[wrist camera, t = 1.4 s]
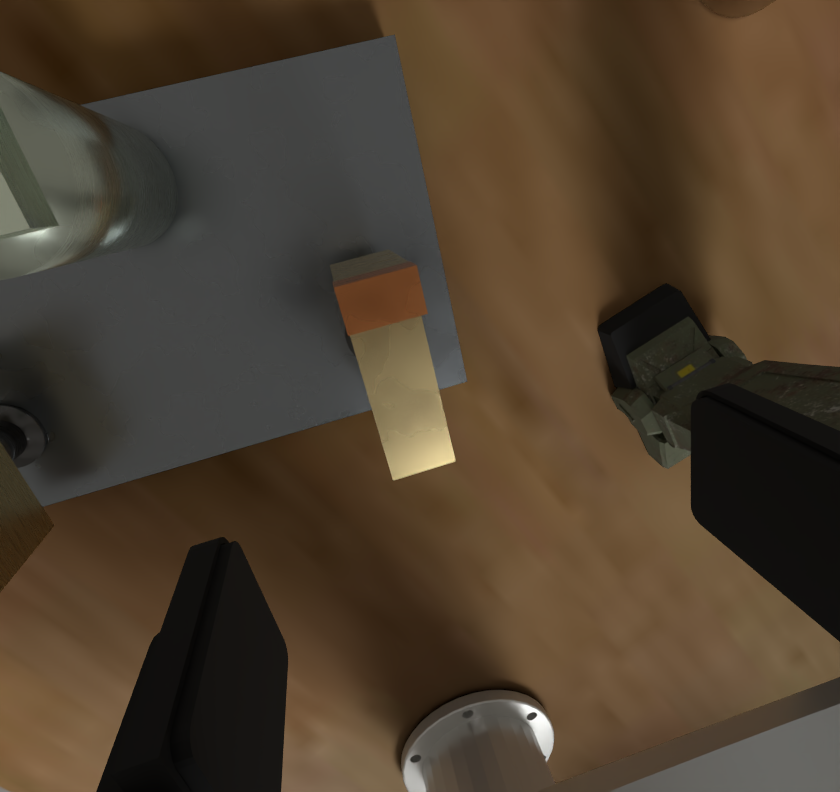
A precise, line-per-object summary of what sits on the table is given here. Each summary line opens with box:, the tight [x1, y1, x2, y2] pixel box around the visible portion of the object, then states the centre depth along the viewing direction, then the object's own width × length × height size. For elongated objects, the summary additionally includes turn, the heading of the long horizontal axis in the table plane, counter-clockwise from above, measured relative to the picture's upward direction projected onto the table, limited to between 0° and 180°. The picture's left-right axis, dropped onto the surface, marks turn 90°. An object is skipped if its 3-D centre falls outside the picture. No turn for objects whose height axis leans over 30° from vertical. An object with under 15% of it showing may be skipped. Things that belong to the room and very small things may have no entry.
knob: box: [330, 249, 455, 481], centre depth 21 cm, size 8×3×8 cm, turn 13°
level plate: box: [0, 35, 467, 507], centre depth 18 cm, size 16×26×13 cm, turn 103°
